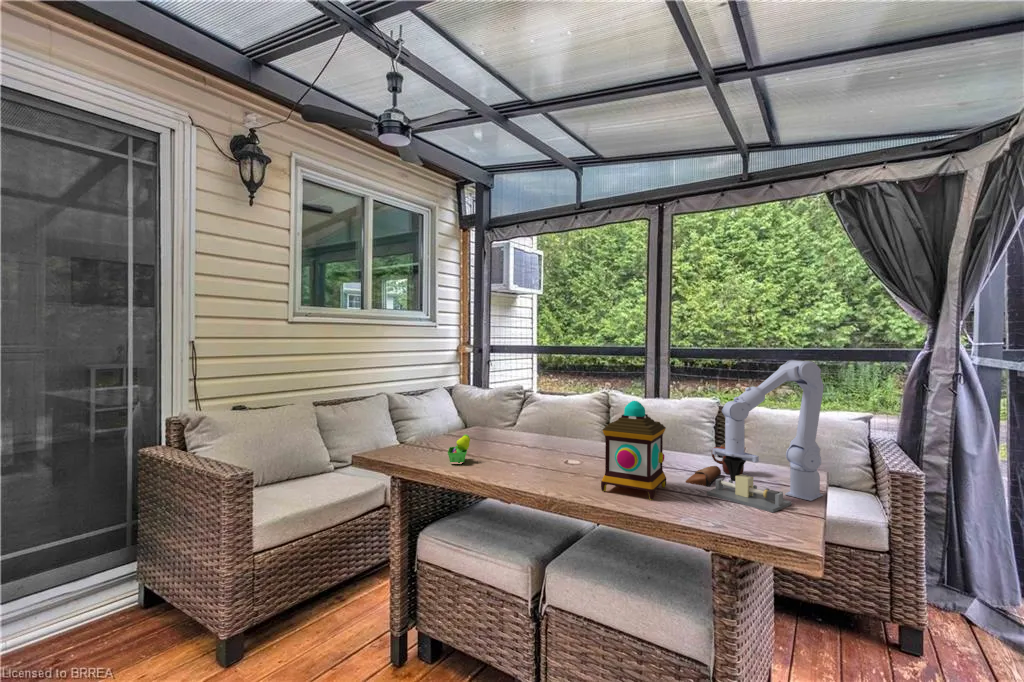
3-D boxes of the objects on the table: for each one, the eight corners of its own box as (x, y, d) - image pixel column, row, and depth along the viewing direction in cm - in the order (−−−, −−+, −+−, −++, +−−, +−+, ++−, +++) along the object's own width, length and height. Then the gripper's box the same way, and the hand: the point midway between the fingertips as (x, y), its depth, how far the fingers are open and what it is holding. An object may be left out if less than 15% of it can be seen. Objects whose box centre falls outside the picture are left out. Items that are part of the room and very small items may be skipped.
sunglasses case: (697, 471, 185) (707, 458, 183) (714, 483, 181) (723, 470, 179) (684, 482, 170) (694, 467, 168) (701, 496, 167) (712, 481, 165)
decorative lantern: (656, 503, 148) (656, 406, 148) (595, 492, 159) (596, 401, 159) (671, 486, 165) (671, 399, 166) (615, 477, 176) (616, 396, 176)
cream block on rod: (735, 494, 154) (735, 475, 154) (741, 492, 156) (741, 474, 156) (747, 497, 151) (747, 478, 151) (753, 495, 153) (753, 476, 153)
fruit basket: (449, 458, 203) (449, 432, 203) (470, 458, 203) (470, 432, 203) (447, 465, 191) (447, 437, 191) (469, 465, 192) (469, 437, 192)
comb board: (706, 494, 157) (706, 480, 157) (725, 487, 164) (726, 474, 164) (773, 512, 140) (773, 497, 140) (791, 504, 148) (791, 490, 148)
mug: (744, 471, 186) (744, 445, 186) (747, 477, 177) (747, 449, 177) (710, 468, 190) (710, 442, 190) (712, 474, 181) (712, 447, 181)
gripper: (707, 436, 159) (707, 477, 159) (750, 443, 148) (750, 488, 148) (718, 434, 164) (718, 473, 164) (762, 441, 152) (761, 484, 152)
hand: (734, 480), depth 156 cm, fingers closed
